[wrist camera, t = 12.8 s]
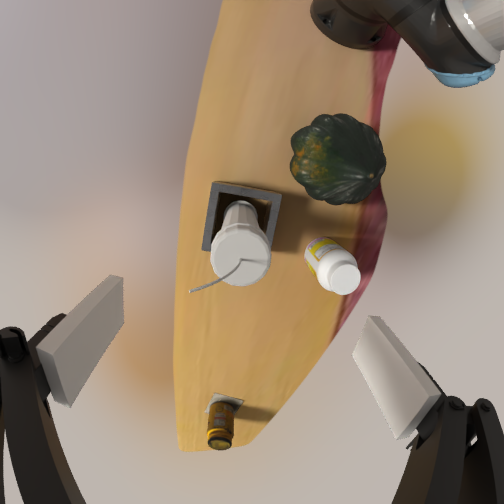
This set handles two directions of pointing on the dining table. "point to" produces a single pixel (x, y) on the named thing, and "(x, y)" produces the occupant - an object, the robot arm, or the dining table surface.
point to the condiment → (221, 421)
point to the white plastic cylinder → (239, 247)
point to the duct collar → (219, 187)
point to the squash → (337, 159)
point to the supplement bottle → (332, 266)
